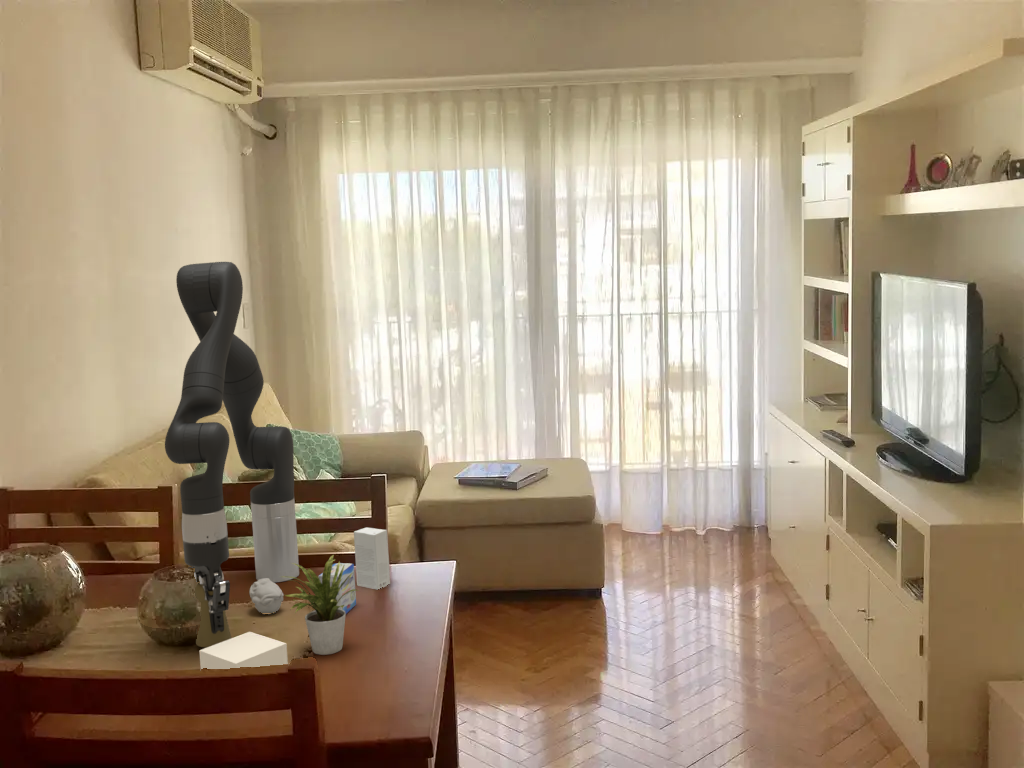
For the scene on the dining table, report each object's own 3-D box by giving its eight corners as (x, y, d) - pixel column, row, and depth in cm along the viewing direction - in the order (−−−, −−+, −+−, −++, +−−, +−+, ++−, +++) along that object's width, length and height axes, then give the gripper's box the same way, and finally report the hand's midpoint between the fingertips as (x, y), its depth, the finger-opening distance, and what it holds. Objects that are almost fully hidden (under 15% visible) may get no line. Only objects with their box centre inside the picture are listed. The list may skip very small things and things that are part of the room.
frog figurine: (266, 606, 191) (264, 572, 190) (292, 611, 188) (289, 577, 187) (243, 616, 186) (241, 581, 185) (269, 621, 182) (267, 586, 182)
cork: (200, 635, 172) (195, 576, 171) (234, 632, 173) (229, 574, 171) (192, 648, 166) (187, 587, 165) (227, 645, 167) (222, 585, 165)
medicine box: (342, 619, 182) (339, 575, 181) (320, 618, 183) (317, 574, 182) (356, 605, 190) (354, 563, 189) (335, 604, 191) (333, 562, 190)
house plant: (292, 633, 176) (286, 547, 174) (367, 629, 176) (363, 543, 175) (278, 664, 161) (271, 571, 160) (360, 660, 162) (354, 567, 160)
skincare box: (391, 584, 202) (388, 529, 200) (377, 590, 198) (374, 534, 197) (369, 580, 205) (366, 526, 204) (355, 586, 202) (352, 531, 200)
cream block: (201, 679, 157) (199, 650, 157) (251, 659, 165) (249, 631, 165) (238, 693, 151) (235, 663, 151) (288, 672, 159) (286, 643, 159)
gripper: (170, 531, 170) (177, 623, 172) (198, 547, 159) (207, 646, 161) (210, 523, 175) (218, 613, 177) (241, 538, 164) (249, 634, 166)
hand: (212, 628), depth 169 cm, fingers closed on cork, 4 cm apart
